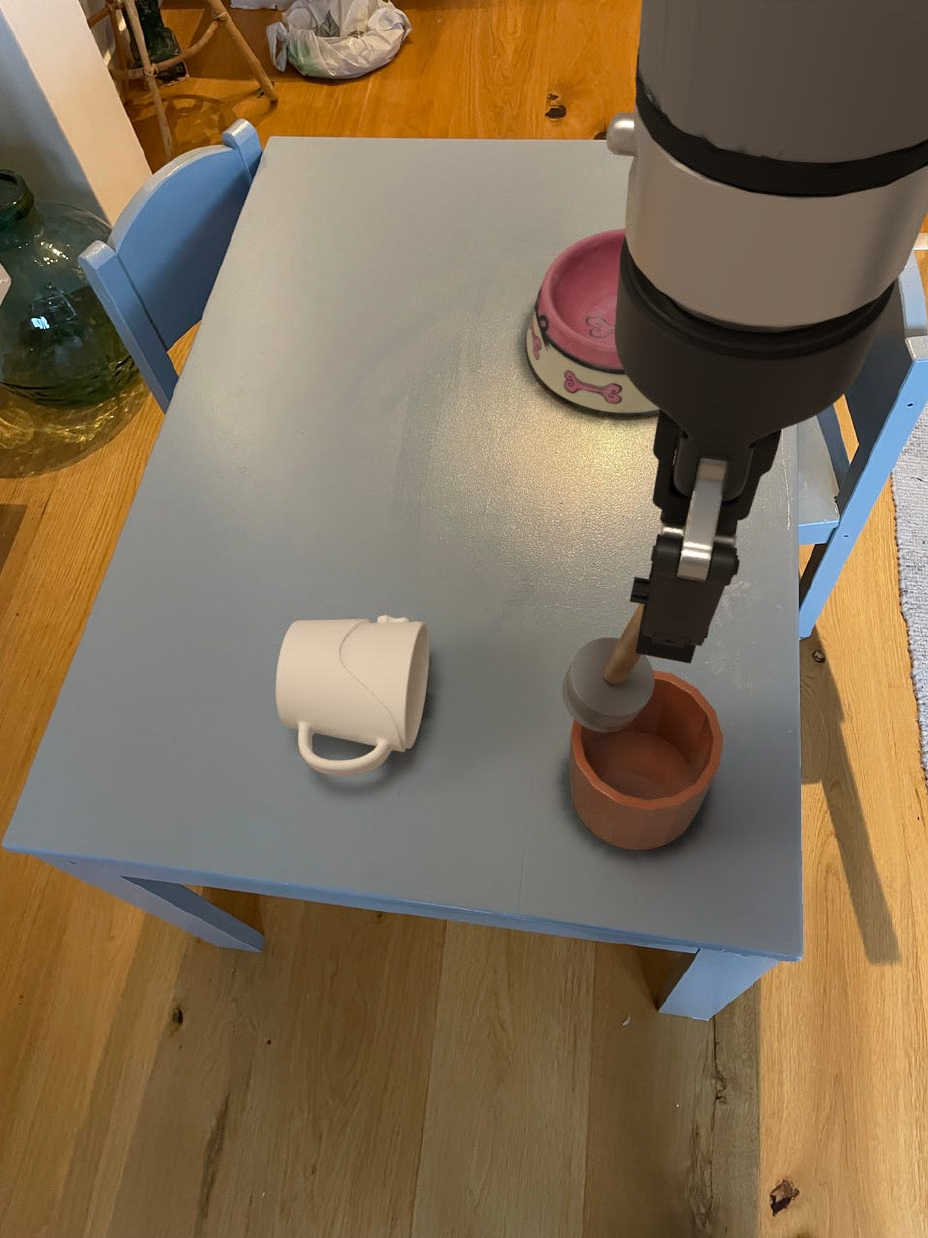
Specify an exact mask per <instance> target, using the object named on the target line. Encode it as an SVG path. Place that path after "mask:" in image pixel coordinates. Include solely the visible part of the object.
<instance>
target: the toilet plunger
mask: <svg viewBox="0 0 928 1238" xmlns="http://www.w3.org/2000/svg"><path fill="white" fill-rule="evenodd" d="M643 608H644V604H639V603H638V606H637V607H636V609H635V611H634V613H633V614H632V616H631V618H630V619H629V622H628V623H627V625H626V627H625V629H624V630H623V632H622V634H621V636H620V637H619V638H617V637H600V638H596V639H593V640H591V641H589V642H587V643H585V644H584V645H583V646H582V647H580V648H579V650H577V652H576V653H575V655H574V657H573V659H572V661H571V663H570V665H569V667H568V669H567V671H566V673H565V675H564V677H563V681H562V685H561V697H562V701H563V704H564V706H565V709H566V710H567V712H568V714H569V715H570V716H571V718H573V720H574V719H575V720H576V721H577V722H578V723H579V724H581V725H582V726H584V727H586V728H588V729H590V730H593V731H597V732H615V731H618V730H621V729H623V728H625V727H627V726H628V725H630V724H631V723H632V722H633V721H634V720H635V719H636V717H637V716H638V715H639V713H640V712H641V711H642V709H643V708H644V707H645V705H646V704H647V703H648V701H649V700H650V698H651V696H652V694H653V690H654V684H655V678H654V672H653V670H654V668H653V666H652V664H651V662H650V660H649V658H648V657H647V655H642V654H637V653H636V647H637V642H638V636H639V630H640V622H641V617H642V613H643Z"/></svg>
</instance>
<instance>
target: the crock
mask: <svg viewBox="0 0 928 1238" xmlns="http://www.w3.org/2000/svg"><path fill="white" fill-rule="evenodd" d="M653 672H654V678H655V684H654V690H653V694H652V696H651V698H650V700H649V701H648V703H647V704H646V705H645V707H644V708H643V709H642V711H641V712H640V713H639V715H638V716H637V717H636V719H635V720H634V721H633V722H632V723H631V724H630V725H628V726H627V727H625V728H623V729H621V730H618V731H615V732H597V731H593V730H590V729H588V728H586V727H584V726H582V725H581V724H579V723H578V722H577V721H576V720H575V719H574V718H573V721H572V726H571V731H570V743H569V744H570V745H569V771H568V785H569V790H570V798H571V802H572V805H573V808H574V809H575V811H576V814H577V815H578V817H579V819H580V821H582V823H583V824H584V826H585V827H586V828H587V829H588V830H589V831H590V832H591V833H592V834H594V835H595V836H596V837H597V838H599V839H601V840H602V841H604V842H605V843H607V844H610V845H611V846H614V847H618V848H621V849H623V850H624V849H625V850H631V851H647V850H653V849H657V848H660V847H663V846H665V845H668V844H670V843H671V842H673V841H675V840H676V839H678V838H679V837H680V836H681V835H682V834H684V833H685V832H686V831H687V830H688V828H689V827H690V825H691V824H692V822H693V820H694V819H695V817H696V815H697V814H698V813H699V811H700V809H701V806H702V804H703V802H704V800H705V798H706V796H707V793H708V791H709V789H710V787H711V785H712V783H713V781H714V778H715V777H716V774H717V773H718V770H719V767H720V765H721V758H722V751H723V745H724V735H723V733H722V730H721V726H720V722H719V718H718V715H717V712H716V710H715V709H714V707H713V706H712V704H711V703H710V702H709V701H708V700H707V698H706V697H705V696H704V695H703V693H702V692H701V691H700V690H699V688H697V687H695V686H694V685H692V684H690V683H689V682H687V681H686V680H683V679H682V678H681V677H678V676H677V675H675V673H674V674H673V673H671V672H665V671H660V670H656V669H653Z"/></svg>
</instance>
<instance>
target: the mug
mask: <svg viewBox="0 0 928 1238" xmlns="http://www.w3.org/2000/svg"><path fill="white" fill-rule="evenodd" d="M429 633H430V632H429V627H428V624H427V623H426V622H425V621H416V620H415V621H410V620H409V618H407V617H405V616H403V617H399V618H396V617H392V616H390V615H388V614H385V615H380V616H378V617H377V622H371V620H369V618H349V619H347V618H346V619H345V618H342V619H305V620H304V619H302V620H301V619H299V620H296V621H294V622H293V623H291V625H290V626H289V627H288V629H287V631H286V633H285V636H284V638H283V641H282V644H281V646H280V652H279V655H278V661H277V668H276V678H275V699H276V700H275V701H276V709H277V713H278V716H279V717H278V718H279V719H280V722H281V723H282V724H283V726H285V727H287V728H291V729H295V730H298V732H297V733H298V734H297V735H298V736H297V738H298V739H297V742H298V750H299V753H300V755H301V757H302V758H303V759H304V761H305V762H306V764H307V765H308V766H309V767H310V768H312V769H313V770H315V771H317V772H318V773H322V774H325V775H330V776H336V777H348V776H356V775H357V776H358V775H362V774H365V773H368V772H371V771H373V770H375V769H377V768H378V767H380V766H381V765H382V764H383V763H384V762H386V760H388V757H389V756H390V754H391V753H392V751H396V752H400V753H405V752H406V749H408V750H410V749H411V748H412V747H413V746H414V744H415V742H416V740H417V737H418V735H419V730H420V726H421V723H422V717H423V712H424V708H425V701H426V695H427V687H428V679H429V667H430V634H429ZM315 734H318V735H321V736H327V737H332V738H337V739H341V740H346V741H351V742H355V743H360V744H364V745H369V746H373V747H375V748H374V749H373V750H372V751H371V752H369V753H366V754H365V755H363V756H360V757H356V758H353V759H346V760H344V759H343V760H334V759H327V758H323V757H321V756H318V755H316V754H315V753H314V751H313V735H315Z"/></svg>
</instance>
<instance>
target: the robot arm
mask: <svg viewBox="0 0 928 1238" xmlns="http://www.w3.org/2000/svg"><path fill="white" fill-rule="evenodd" d="M639 24H640V25H639V40H638V41H639V42H638V48H637V55H636V65H635V66H636V68H635V78H634V79H635V80H634V81H635V98H634V105H633V112H617V113H615V114H614V116H613V117H612V118H611V119H610V121H609V124H608V128H607V130H606V135H605V139H606V147H607V149H608V150H609V151H610V152H611V153H612V155H615V156H621V157H632V162H631V165H630V168H629V172H628V177H627V178H628V180H627V192H626V204H625V216H624V217H625V220H624V221H625V222H624V224H625V225H624V229H625V239H624V242H623V244H622V249H621V255H620V265H619V278H618V291H617V305H616V318H615V344H616V350H617V354H618V358H619V360H620V363H621V365H622V367H623V369H624V371H625V373H626V375H627V376H628V378H629V379H630V381H631V382H632V383H633V385H634V386H635V387H636V388H637V389H638V390H639V392H640V393H641V394H642V395H643V396H644V397H646V398H647V399H648V400H649V401H650V402H651V403H653V404H654V405H655V406H657V407H658V408H659V409H660V411H659V414H658V417H657V421H656V427H655V434H654V439H653V446H652V453H653V455H654V456H655V458H656V460H657V461H658V463H657V468H656V475H655V482H654V488H653V494H652V503H653V504H654V506H655V507H657V508H658V509H660V510H661V511H660V512H661V513H660V518H659V521H660V523H661V527H660V528H661V529H660V533H657V534H656V539H655V545H652V550H651V556H650V562H651V567H650V572H649V575H648V578H644V577H638V576H634V577H633V583H632V588H631V593H630V598H629V602H630V603H634V604H638V605H639V604H644V608H643V613H642V617H641V622H640V630H639V636H638V642H637V647H636V653H637V654H642V655H645V656H648V657H653V658H659V659H662V660H663V659H664V660H670V661H675V662H680V663H685V664H692V661H693V658H694V655H695V650H696V648H697V646H699V647H702V646H703V645H704V643H705V639H708V635H709V631H710V627H711V623H712V621H713V619H714V616H715V614H716V611H717V608H718V606H719V604H720V601H721V598H722V595H723V593H724V591H725V588H726V587H728V586H731V582H732V579H733V578H734V576H737V575H738V573H739V568H740V563H741V561H740V559H739V554H738V547H736V543H737V540H738V539H737V537H738V536H737V530H738V524H739V521H743V520H745V519H747V518H748V517H749V515H750V513H751V510H752V506H753V503H754V500H755V497H756V494H757V490H758V487H759V483H760V480H761V477H762V476H763V475H765V474H766V473H768V472H770V471H771V469H772V468H773V464H774V462H775V458H776V456H777V452H778V449H779V444H780V440H781V436H782V430H784V429H786V428H790V427H793V426H795V425H797V424H800V423H803V422H805V421H807V420H810V419H812V418H814V417H816V416H817V415H819V414H821V413H823V412H824V411H825V410H827V409H829V408H830V407H832V406H833V405H834V404H835V403H837V402H838V401H839V400H840V398H842V397H843V396H844V395H845V394H846V393H847V391H848V390H849V389H850V388H851V386H852V385H853V383H854V382H855V381H856V379H857V377H858V376H859V374H860V372H861V370H862V368H863V366H864V363H865V361H866V359H867V357H868V353H869V351H870V348H871V346H872V344H873V340H874V339H875V336H876V333H877V331H878V329H879V327H880V324H881V321H882V319H883V318H884V314H885V312H886V309H887V307H888V305H889V302H890V299H891V297H892V294H893V292H894V288H895V283H896V279H897V278H899V276H900V275H901V274H902V273H903V272H904V270H905V268H906V266H907V263H908V261H909V258H910V256H911V254H912V252H913V249H914V247H915V245H916V242H917V239H918V237H919V234H920V232H921V230H922V227H923V225H924V222H925V220H926V218H927V216H928V0H641V8H640V23H639Z"/></svg>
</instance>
